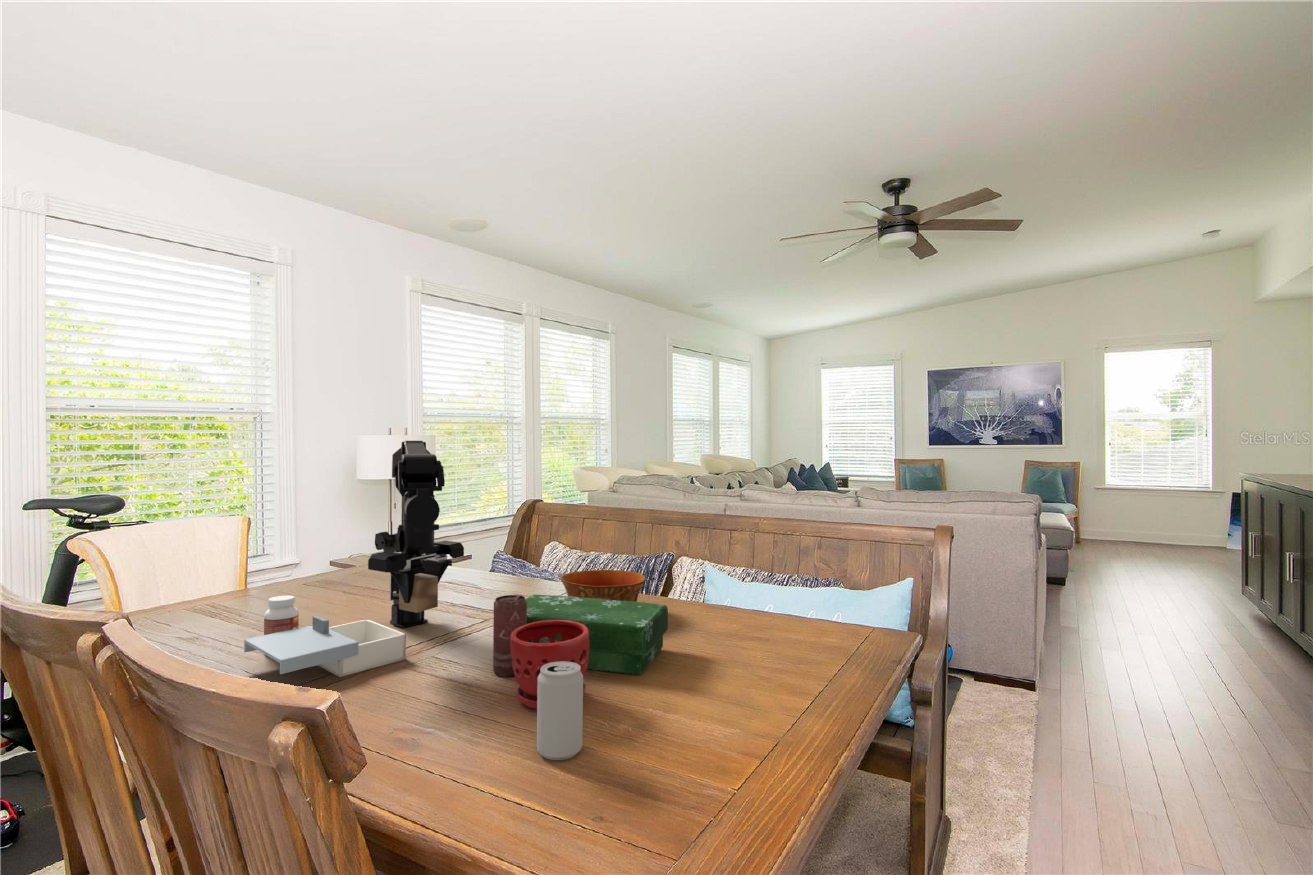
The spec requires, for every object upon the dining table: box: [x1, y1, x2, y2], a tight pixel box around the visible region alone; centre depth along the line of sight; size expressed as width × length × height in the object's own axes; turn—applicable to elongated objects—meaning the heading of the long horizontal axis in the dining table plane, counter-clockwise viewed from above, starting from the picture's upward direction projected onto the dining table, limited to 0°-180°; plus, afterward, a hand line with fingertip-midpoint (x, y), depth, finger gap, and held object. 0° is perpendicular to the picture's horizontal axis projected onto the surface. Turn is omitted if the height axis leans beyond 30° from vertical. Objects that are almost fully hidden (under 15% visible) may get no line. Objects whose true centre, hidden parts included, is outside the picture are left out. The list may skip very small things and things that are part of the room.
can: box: [492, 594, 527, 678], centre depth 124 cm, size 6×6×14 cm
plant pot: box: [510, 620, 589, 710], centre depth 111 cm, size 13×13×12 cm
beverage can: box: [536, 661, 584, 761], centre depth 93 cm, size 6×6×12 cm
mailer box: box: [317, 618, 407, 678], centre depth 131 cm, size 13×16×5 cm
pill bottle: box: [263, 595, 300, 635], centre depth 135 cm, size 6×6×11 cm
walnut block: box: [399, 573, 439, 613], centre depth 127 cm, size 5×5×6 cm
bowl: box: [560, 569, 647, 602], centre depth 163 cm, size 21×21×10 cm
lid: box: [243, 615, 358, 675], centre depth 123 cm, size 13×17×5 cm
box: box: [525, 594, 669, 676], centre depth 134 cm, size 32×18×10 cm, turn 74°
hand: (418, 599), depth 128 cm, fingers closed on walnut block, 5 cm apart
